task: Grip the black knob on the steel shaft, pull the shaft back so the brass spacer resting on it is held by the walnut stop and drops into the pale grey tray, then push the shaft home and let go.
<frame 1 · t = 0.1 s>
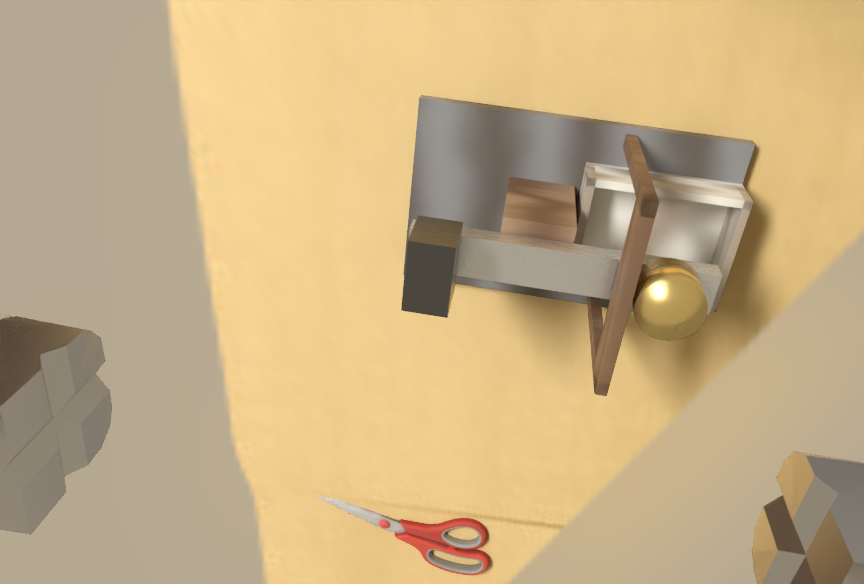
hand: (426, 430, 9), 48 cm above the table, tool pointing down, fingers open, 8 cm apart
scissors: (396, 525, 78), on the table
steel shaft: (559, 280, 47), point 12 cm above the table, slide at 0.0 cm, touching brass spacer
shaft stand: (593, 214, 58), on the table
brass spacer: (664, 287, 48), point 11 cm above the table, touching steel shaft
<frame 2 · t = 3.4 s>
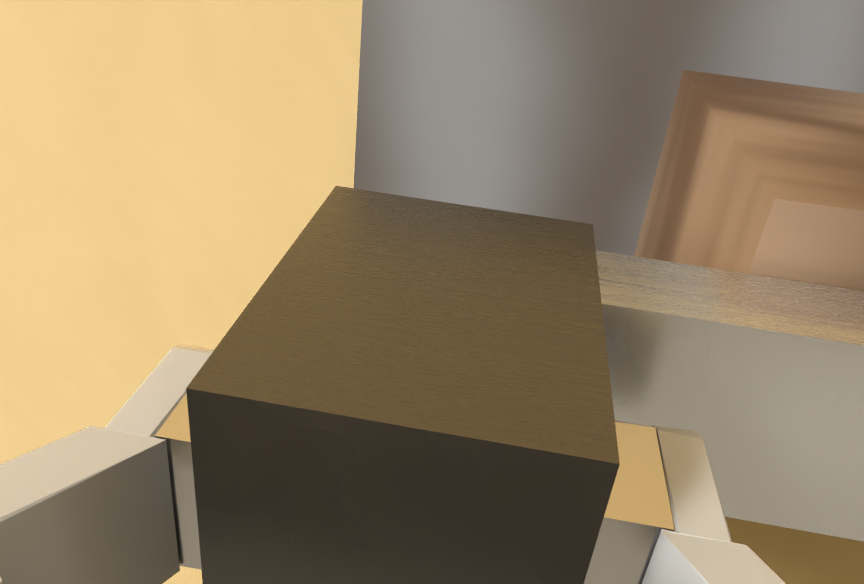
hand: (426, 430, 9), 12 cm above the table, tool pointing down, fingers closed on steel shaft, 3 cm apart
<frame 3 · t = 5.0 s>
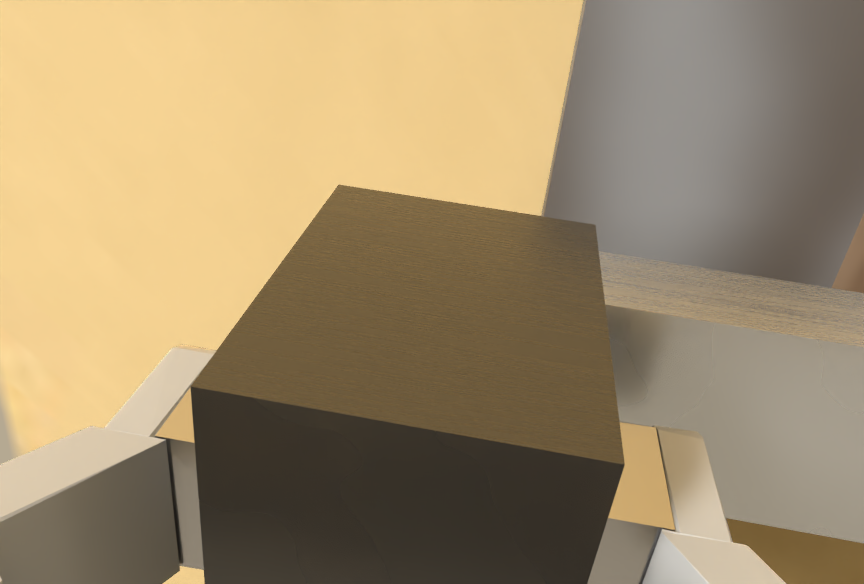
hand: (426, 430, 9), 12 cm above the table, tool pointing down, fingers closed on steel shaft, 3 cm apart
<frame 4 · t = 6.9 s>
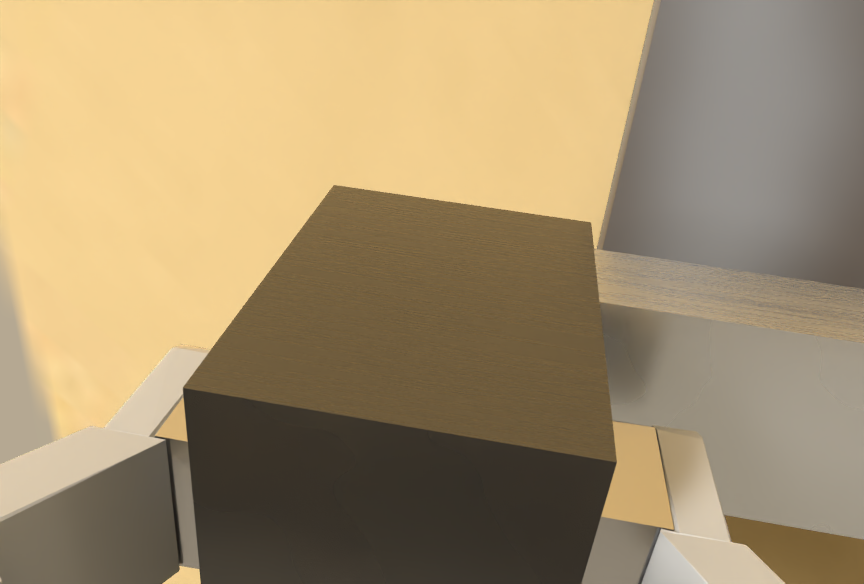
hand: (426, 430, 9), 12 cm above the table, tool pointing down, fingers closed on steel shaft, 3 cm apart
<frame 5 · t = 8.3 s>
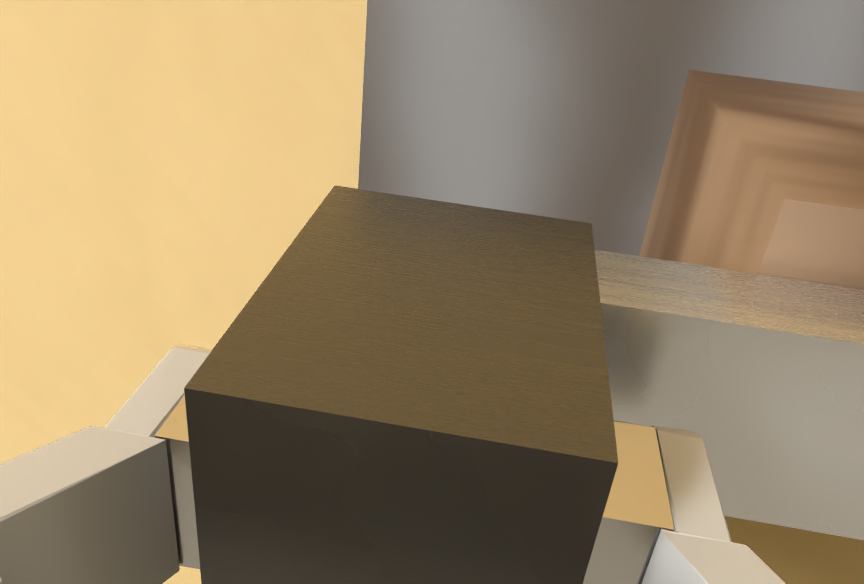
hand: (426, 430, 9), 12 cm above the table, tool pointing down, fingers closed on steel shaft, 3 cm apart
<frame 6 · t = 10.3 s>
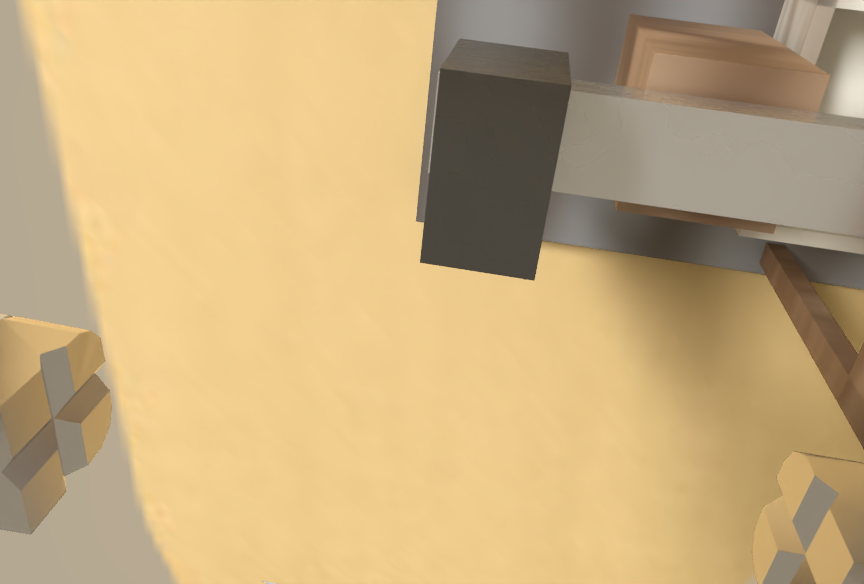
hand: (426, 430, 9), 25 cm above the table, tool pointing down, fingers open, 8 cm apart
steel shaft: (803, 190, 19), point 12 cm above the table, slide at 0.0 cm
shaft stand: (785, 96, 30), on the table
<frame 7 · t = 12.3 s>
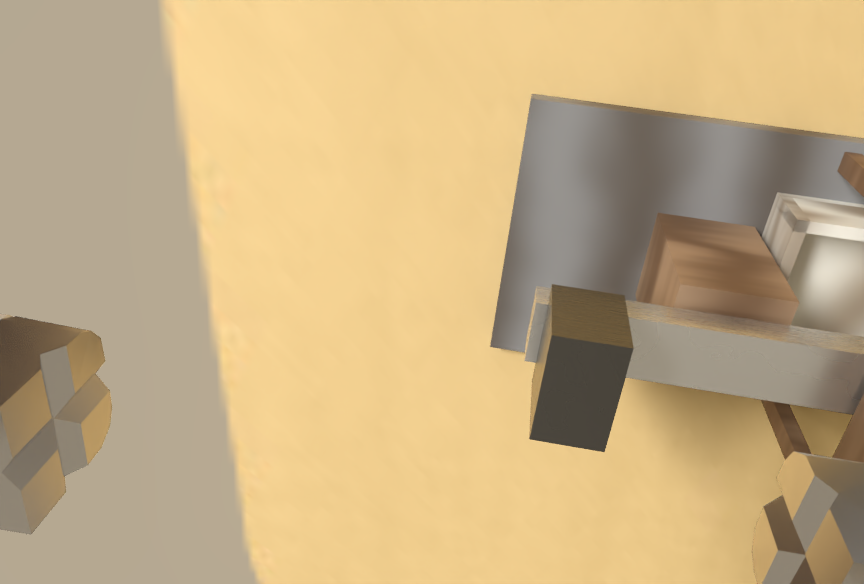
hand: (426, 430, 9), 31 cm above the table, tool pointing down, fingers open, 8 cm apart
steel shaft: (780, 389, 30), point 12 cm above the table, slide at 0.0 cm
shaft stand: (773, 266, 40), on the table
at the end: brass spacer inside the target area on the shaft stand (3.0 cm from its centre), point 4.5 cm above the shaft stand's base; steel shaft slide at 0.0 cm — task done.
